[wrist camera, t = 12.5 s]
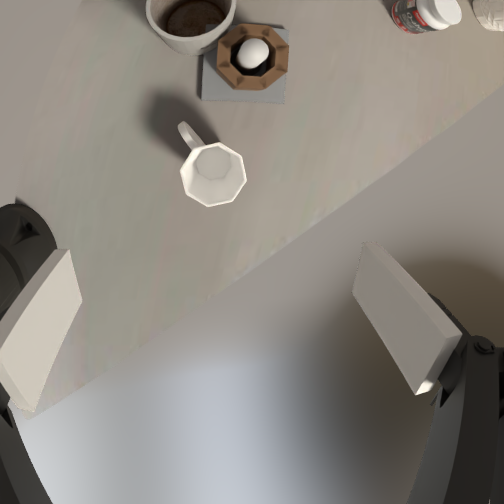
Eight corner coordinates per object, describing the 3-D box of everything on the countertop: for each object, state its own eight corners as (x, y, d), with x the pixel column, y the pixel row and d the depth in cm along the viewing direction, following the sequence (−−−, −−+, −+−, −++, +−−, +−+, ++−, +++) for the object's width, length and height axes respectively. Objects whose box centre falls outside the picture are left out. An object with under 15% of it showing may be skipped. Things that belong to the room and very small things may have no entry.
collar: (215, 89, 33) (215, 86, 28) (218, 34, 30) (219, 22, 25) (275, 92, 34) (285, 90, 29) (278, 38, 31) (290, 28, 26)
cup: (207, 197, 41) (205, 219, 34) (161, 137, 36) (148, 146, 29) (251, 167, 39) (260, 183, 32) (207, 104, 35) (205, 105, 28)
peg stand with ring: (201, 100, 35) (197, 99, 26) (206, 26, 30) (203, 2, 21) (282, 104, 36) (303, 105, 27) (287, 31, 31) (309, 11, 23)
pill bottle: (386, 23, 31) (427, 10, 22) (393, -6, 29) (433, -22, 20) (418, 41, 32) (461, 35, 24) (424, 13, 30) (466, 3, 21)
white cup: (475, -14, 26) (513, -20, 17) (500, 17, 29) (538, 15, 20) (465, 10, 29) (506, 4, 20) (491, 41, 31) (532, 42, 23)
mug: (189, 69, 33) (180, 58, 24) (148, 24, 29) (128, 3, 21) (268, 16, 31) (285, -8, 22) (227, -28, 27) (232, -61, 18)
